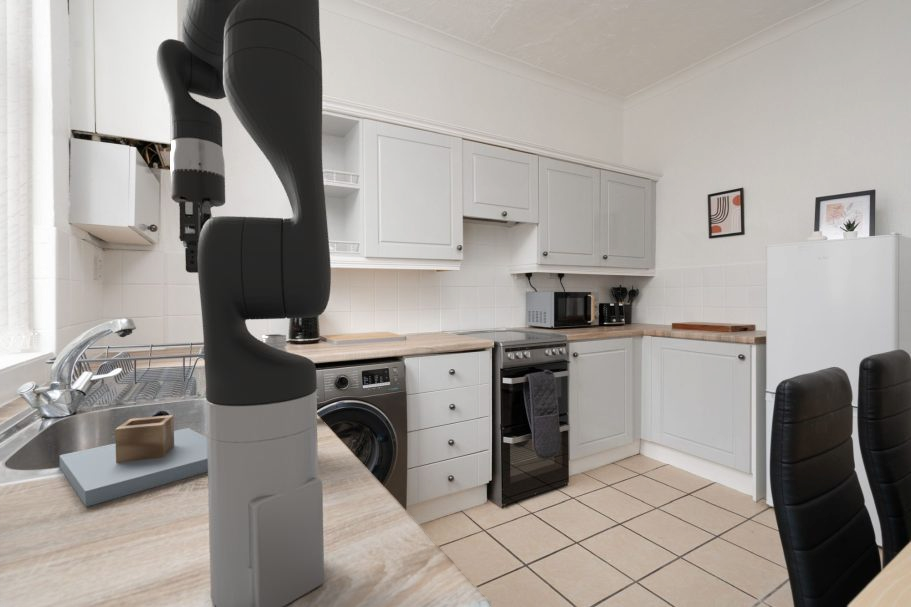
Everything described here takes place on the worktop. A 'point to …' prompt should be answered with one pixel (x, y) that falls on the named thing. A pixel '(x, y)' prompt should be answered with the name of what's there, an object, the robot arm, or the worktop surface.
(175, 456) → the flat blue-gray panel
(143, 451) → the tan hollow open box
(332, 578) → the worktop surface
